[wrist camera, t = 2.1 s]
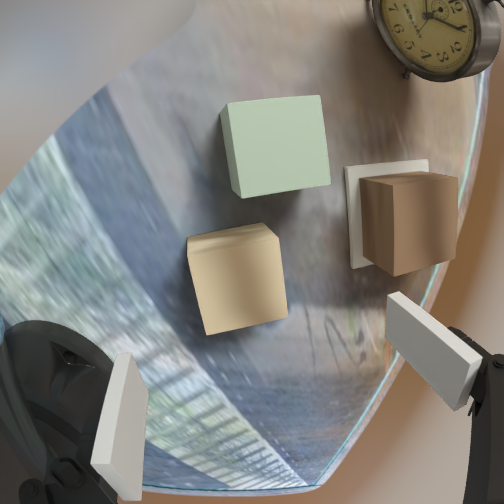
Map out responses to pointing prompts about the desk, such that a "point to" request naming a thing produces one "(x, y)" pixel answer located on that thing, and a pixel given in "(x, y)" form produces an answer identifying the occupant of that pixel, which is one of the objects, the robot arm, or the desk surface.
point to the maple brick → (237, 277)
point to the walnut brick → (409, 220)
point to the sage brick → (275, 145)
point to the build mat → (355, 202)
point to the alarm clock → (440, 35)
